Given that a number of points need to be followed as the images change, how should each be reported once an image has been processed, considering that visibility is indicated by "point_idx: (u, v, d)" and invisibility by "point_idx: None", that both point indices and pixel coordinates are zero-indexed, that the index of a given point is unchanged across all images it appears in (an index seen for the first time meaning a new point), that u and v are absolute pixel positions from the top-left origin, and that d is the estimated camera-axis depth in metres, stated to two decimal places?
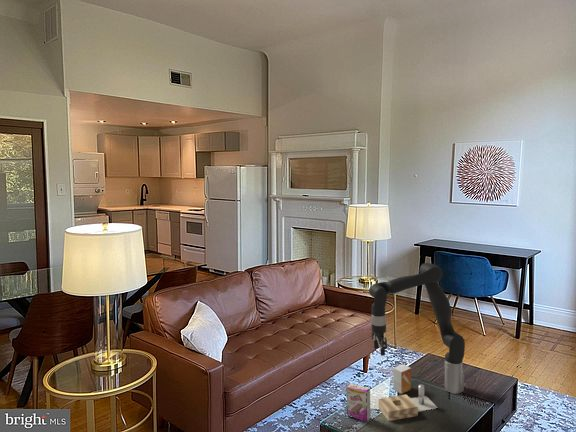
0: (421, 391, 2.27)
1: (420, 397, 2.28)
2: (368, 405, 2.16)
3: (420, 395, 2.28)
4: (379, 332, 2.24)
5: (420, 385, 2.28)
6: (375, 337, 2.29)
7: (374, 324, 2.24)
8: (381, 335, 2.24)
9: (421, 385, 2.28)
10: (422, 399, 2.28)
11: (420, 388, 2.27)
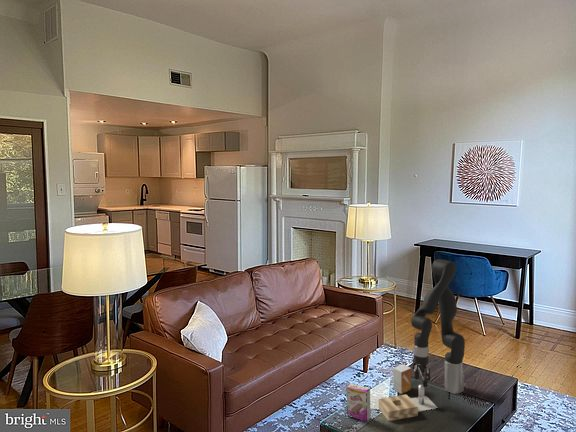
0: (421, 391, 2.27)
1: (420, 397, 2.28)
2: (368, 405, 2.16)
3: (420, 395, 2.28)
4: (422, 363, 2.23)
5: (420, 385, 2.28)
6: (417, 368, 2.28)
7: (417, 355, 2.23)
8: (424, 366, 2.23)
9: (421, 385, 2.28)
10: (422, 399, 2.28)
11: (420, 388, 2.27)
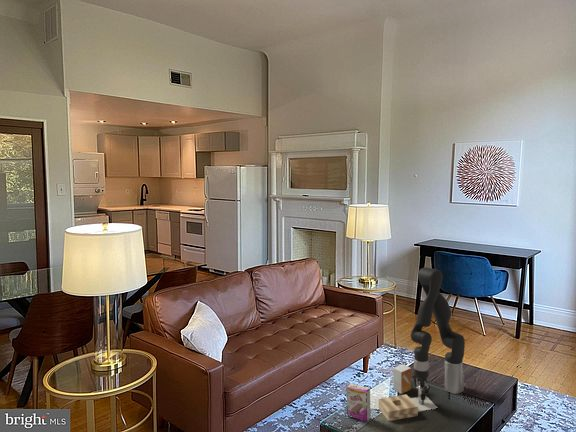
0: None
1: (420, 397, 2.28)
2: (368, 405, 2.16)
3: (420, 395, 2.28)
4: (422, 377, 2.24)
5: None
6: (418, 382, 2.29)
7: (417, 369, 2.24)
8: (424, 380, 2.24)
9: None
10: None
11: None
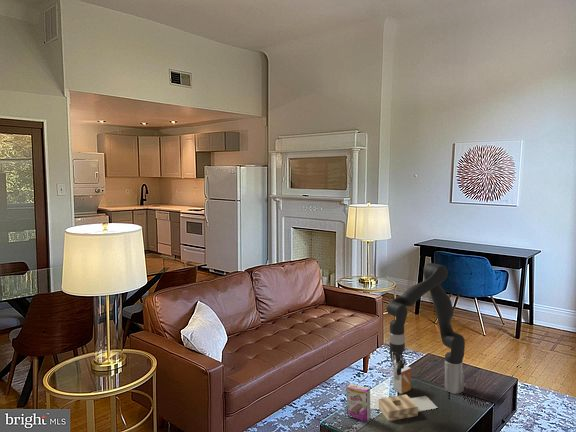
0: None
1: (396, 372, 2.19)
2: (368, 405, 2.16)
3: (396, 370, 2.19)
4: (398, 351, 2.15)
5: None
6: None
7: (392, 343, 2.16)
8: (400, 354, 2.16)
9: None
10: (398, 375, 2.19)
11: None
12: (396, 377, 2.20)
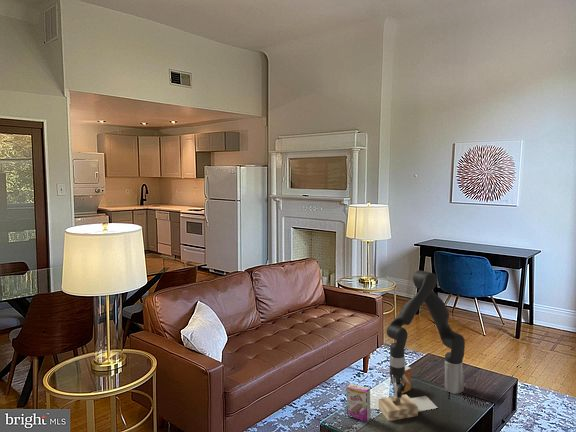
0: None
1: (396, 394, 2.21)
2: (368, 405, 2.16)
3: (396, 392, 2.21)
4: (398, 374, 2.17)
5: None
6: (394, 379, 2.22)
7: (393, 366, 2.18)
8: (400, 377, 2.17)
9: None
10: None
11: None
12: (396, 399, 2.21)
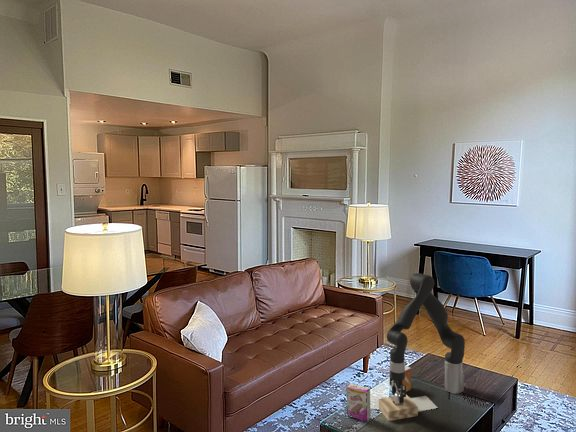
0: (397, 399, 2.21)
1: (396, 405, 2.22)
2: (368, 405, 2.16)
3: (396, 403, 2.22)
4: (398, 379, 2.17)
5: (396, 393, 2.22)
6: (393, 383, 2.23)
7: (393, 371, 2.18)
8: (400, 382, 2.17)
9: (397, 393, 2.22)
10: None
11: (396, 396, 2.21)
12: None
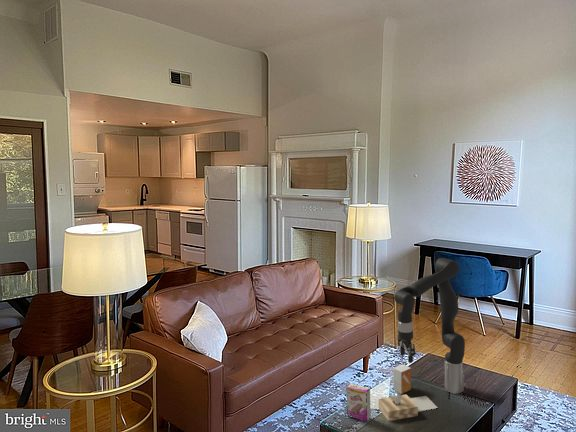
0: (397, 399, 2.21)
1: (396, 405, 2.22)
2: (368, 405, 2.16)
3: (396, 403, 2.22)
4: (406, 339, 2.20)
5: (396, 393, 2.22)
6: (402, 344, 2.26)
7: (401, 331, 2.21)
8: (409, 342, 2.21)
9: (397, 393, 2.22)
10: None
11: (396, 396, 2.21)
12: None
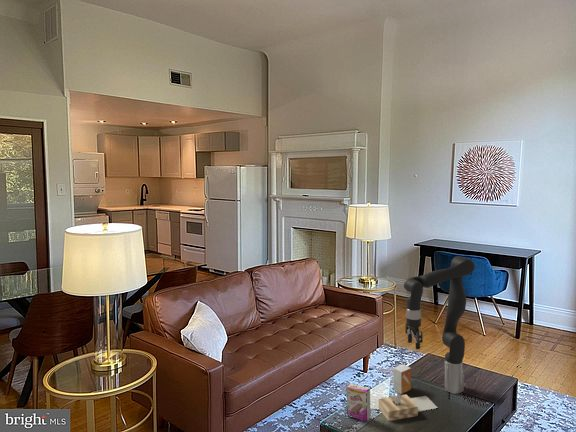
0: (397, 399, 2.21)
1: (396, 405, 2.22)
2: (368, 405, 2.16)
3: (396, 403, 2.22)
4: (414, 326, 2.26)
5: (396, 393, 2.22)
6: (409, 331, 2.31)
7: (409, 318, 2.27)
8: (416, 329, 2.26)
9: (397, 393, 2.22)
10: None
11: (396, 396, 2.21)
12: None
